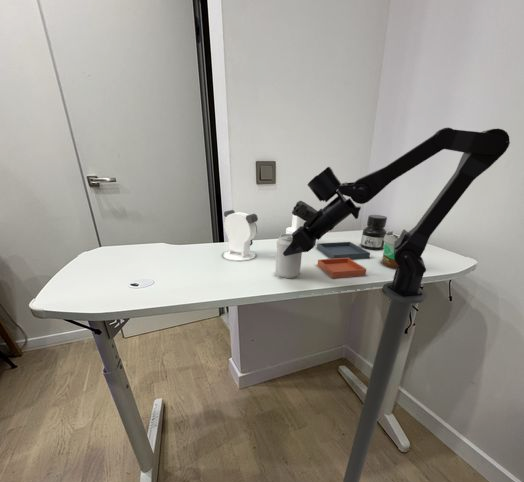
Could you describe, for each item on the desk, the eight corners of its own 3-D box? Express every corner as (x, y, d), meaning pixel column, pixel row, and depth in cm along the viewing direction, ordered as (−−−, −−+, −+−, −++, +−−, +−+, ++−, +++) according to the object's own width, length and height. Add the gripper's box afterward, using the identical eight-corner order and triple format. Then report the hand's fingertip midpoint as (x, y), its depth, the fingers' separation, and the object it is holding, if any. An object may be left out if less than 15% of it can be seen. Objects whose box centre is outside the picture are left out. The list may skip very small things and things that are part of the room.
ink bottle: (355, 246, 117) (360, 216, 111) (364, 242, 123) (370, 213, 117) (378, 252, 111) (385, 220, 106) (387, 247, 117) (394, 216, 111)
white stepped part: (283, 241, 121) (285, 211, 116) (304, 240, 122) (307, 211, 117) (287, 247, 114) (289, 216, 108) (309, 247, 114) (312, 216, 109)
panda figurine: (263, 254, 105) (264, 212, 98) (244, 263, 97) (244, 217, 90) (236, 248, 111) (236, 208, 104) (217, 256, 102) (214, 212, 95)
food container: (370, 259, 103) (376, 231, 98) (385, 258, 105) (391, 230, 100) (394, 272, 93) (402, 241, 88) (410, 270, 94) (418, 240, 90)
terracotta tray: (365, 275, 90) (366, 269, 89) (332, 278, 87) (333, 272, 86) (347, 263, 99) (348, 257, 98) (317, 265, 97) (317, 259, 96)
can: (279, 280, 85) (282, 239, 79) (272, 270, 91) (273, 233, 86) (303, 278, 87) (307, 238, 81) (294, 269, 93) (297, 231, 88)
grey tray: (369, 258, 105) (370, 252, 104) (333, 260, 101) (334, 255, 100) (349, 246, 117) (350, 241, 116) (316, 248, 113) (317, 243, 113)
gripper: (319, 187, 84) (280, 222, 92) (304, 195, 68) (259, 236, 77) (342, 218, 85) (302, 249, 94) (333, 232, 70) (286, 268, 78)
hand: (288, 250), depth 86 cm, fingers open, 9 cm apart
